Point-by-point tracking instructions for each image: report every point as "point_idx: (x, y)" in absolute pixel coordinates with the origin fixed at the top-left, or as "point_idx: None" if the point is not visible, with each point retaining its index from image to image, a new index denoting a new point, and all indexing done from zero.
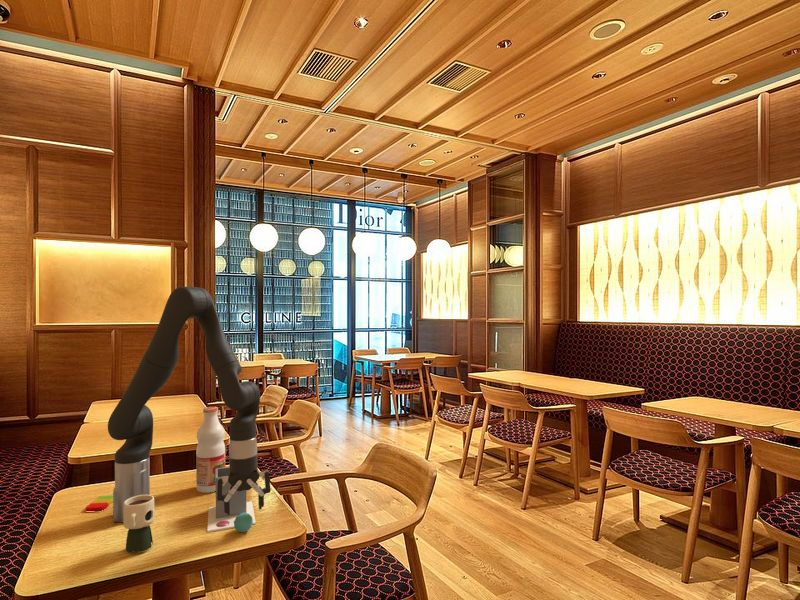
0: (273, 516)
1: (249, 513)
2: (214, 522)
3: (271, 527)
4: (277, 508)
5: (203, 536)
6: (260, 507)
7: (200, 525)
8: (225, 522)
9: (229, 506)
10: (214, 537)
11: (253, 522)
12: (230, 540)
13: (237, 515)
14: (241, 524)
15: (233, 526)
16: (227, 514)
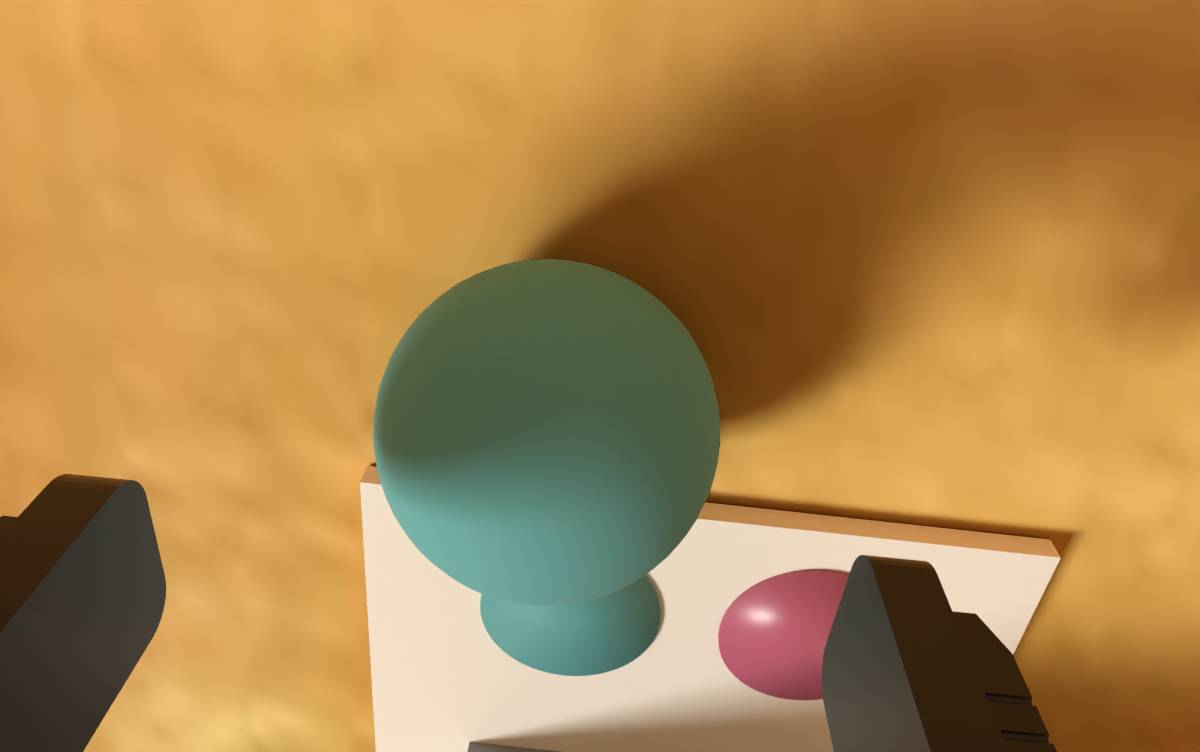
0: None
1: (431, 731)
2: None
3: (115, 264)
4: None
5: (1141, 463)
6: (68, 503)
7: (1049, 732)
8: (769, 652)
9: (924, 728)
10: (1017, 361)
11: None
12: (823, 134)
13: (584, 745)
14: (604, 311)
15: None
16: (921, 561)
